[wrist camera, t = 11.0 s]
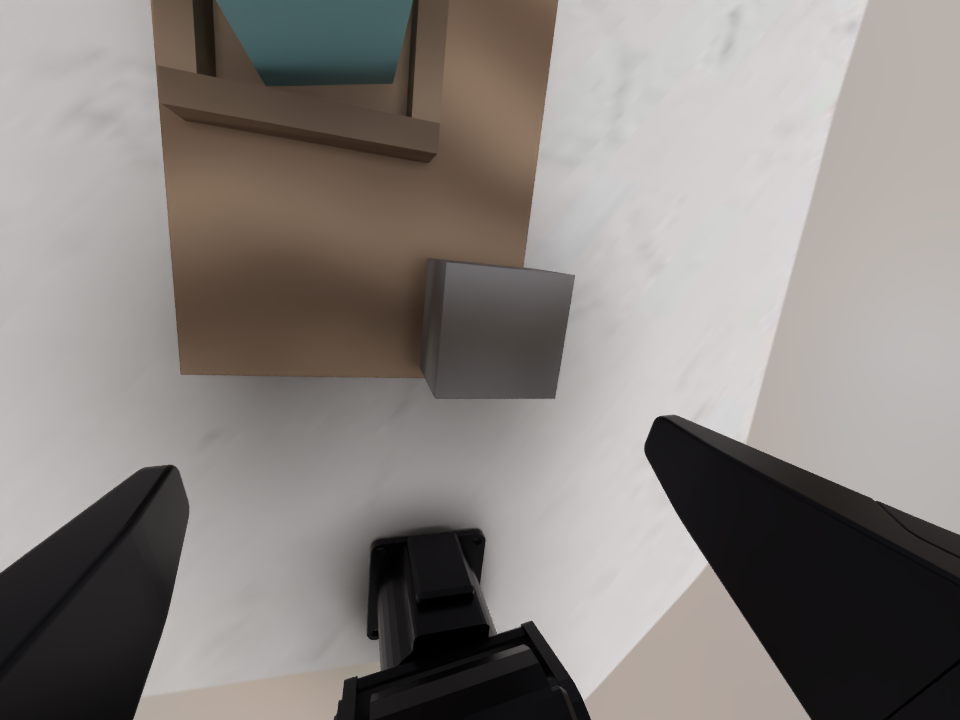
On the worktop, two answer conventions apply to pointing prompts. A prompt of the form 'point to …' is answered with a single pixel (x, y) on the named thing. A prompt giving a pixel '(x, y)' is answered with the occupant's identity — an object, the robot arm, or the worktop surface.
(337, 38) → the teal column
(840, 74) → the worktop surface
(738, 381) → the worktop surface
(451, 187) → the walnut base board
